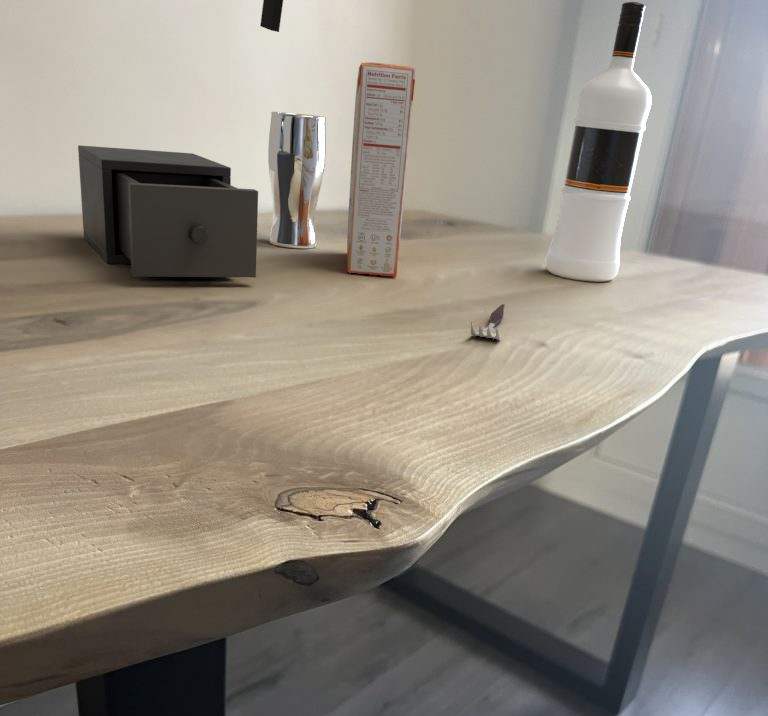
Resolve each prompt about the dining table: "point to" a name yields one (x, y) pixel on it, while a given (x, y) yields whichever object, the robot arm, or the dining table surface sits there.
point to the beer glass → (295, 176)
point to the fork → (491, 324)
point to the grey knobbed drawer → (184, 225)
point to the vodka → (602, 163)
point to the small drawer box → (100, 195)
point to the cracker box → (379, 167)
